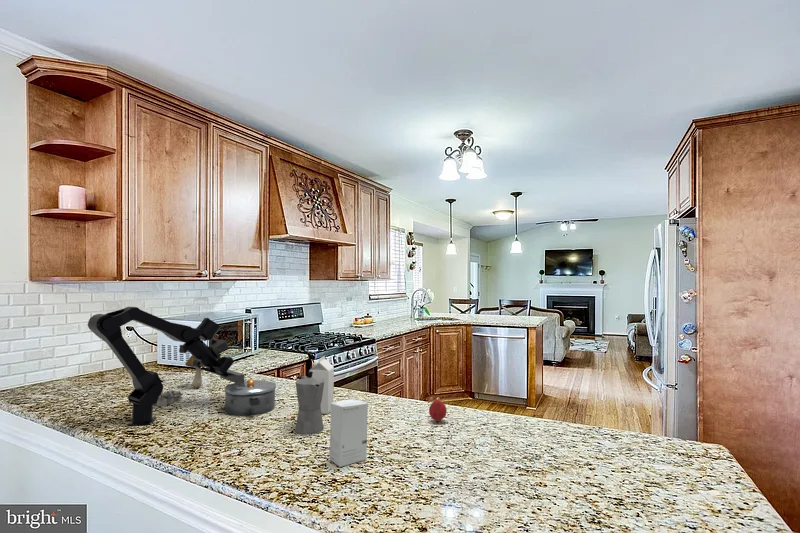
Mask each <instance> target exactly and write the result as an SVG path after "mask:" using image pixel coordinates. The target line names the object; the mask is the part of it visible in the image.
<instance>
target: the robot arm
mask: <svg viewBox="0 0 800 533" xmlns="http://www.w3.org/2000/svg"><path fill="white" fill-rule="evenodd" d="M132 321H134V322H136V323H139V324H142V325H143V326H146V327H147V328H148V327H149V328H151V329H153V330H156V331H158V332H161V333H162V334H164V335H165V336H166V337H167V338H169V339H171V341H173V342H180V343H183V344H180V345H179V349H178V352H179V353H181V354H186V353H187V352H188V353H189V354H190V355H191V356H192V355H193V356H194V357H193V359H195V360H194V361H193V366H194V367H193V368H195V370H196V369H200V368H201V369H202V368H205V372H207V373H211V374H214V375H216V376H217V375H218V376H220V375H221V376H224V377H227V376H228V373H227V370H230V368H231V367H232V365H233V364H234V362H235V359H234V358H233V357H231V356H222V354H221V353H223V352H225V351H226V350H229V344H228V342H227V340H226V339H217V340H216V339H213V338H214V336H216V334H217V333H218V332H219V331H220V330H221V326H220V325H219V324H218V323H217V322H215V321H214V320H211V319H210V318H209V317H204V318H203V320H202V321H201V322H200V323H199V325H198V326H197V327H195V328H194V327H192V326H191V325H185V324H180V323H176V322H175V323H174V322H171V321H168V320H166V319H164V318H161V317H159V316H156V315H155V314H152V313H149V312H147V311H144V310H142V309H140V308H139V307H137V306H126V307H124V308H121V309H118V310H114V311H111V312H106V313H96V314H94V315H92V316H91V317H90V318H89V319H88V321H87V328H88V329H89V331H91V332H92V333H93V334H94V335H95V336H97V337H98V338H99V339H100V340H102V341H104V343H106V344H107V345H108V346H109V348H110V349H111V350H112V352H113V354H114V355H115V356H116V357H117V360H119V362H120V363H121V364H122V366H123V367H124V368H125V370H126V371H127V373H128V374H129V375H130V377H131V380H132V386H133V387H134V389H133V390H132V391H131V392H130V393H129V394H128V396H127V400H128V403H131V404H132V408H131V410H132V411H131V413H132V415H131V416H132V417H131V421H129V422H128V423H127V424H126V425H127V426H146V425H147V426H149V425H151V424H152V423H153V422H154V421H156V420H157V416H154V415H153V412H154V410H153V409H154V405H153V404H156V403H157V401H158V398H159V395H160V394H161V393H163V392H164V391H163V390H164V385H163V383H164V381H163V380H162V379H161V378H160V375H159V374H158V372H156V371H153V370H152V371H151V370H146V367H145V366H144V365H143V363H142V362H141V360H139V358H138V356H137V355H136V354H135V352H134V351H133V349H132V348H131V346H129V343H128V342H127V341H126V340H125V338H124V337H123V332H122V326H124V325H126V324H128V323H130V322H132ZM207 341H208V345H207V343H206V342H207ZM221 356H222V357H221ZM200 364H201V366H202V367H200V366H199V365H200Z"/></svg>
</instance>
